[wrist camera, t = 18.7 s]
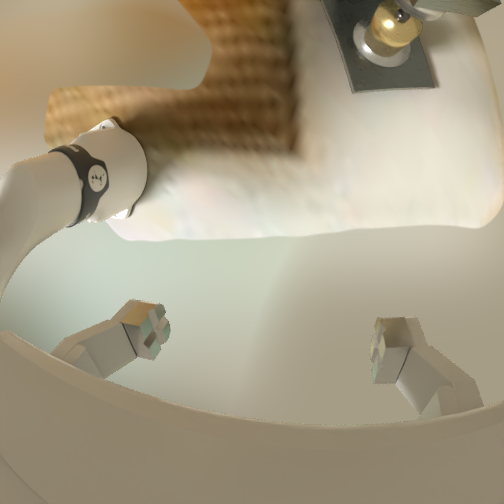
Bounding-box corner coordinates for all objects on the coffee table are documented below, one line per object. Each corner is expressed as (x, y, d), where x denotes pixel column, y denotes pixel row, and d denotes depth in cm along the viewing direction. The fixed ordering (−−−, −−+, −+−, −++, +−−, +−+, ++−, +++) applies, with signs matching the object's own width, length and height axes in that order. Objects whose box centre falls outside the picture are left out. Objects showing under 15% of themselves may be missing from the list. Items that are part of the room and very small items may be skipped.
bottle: (366, 54, 25) (384, 29, 16) (361, 23, 23) (375, -9, 14) (402, 59, 24) (430, 39, 15) (397, 28, 22) (421, 1, 13)
